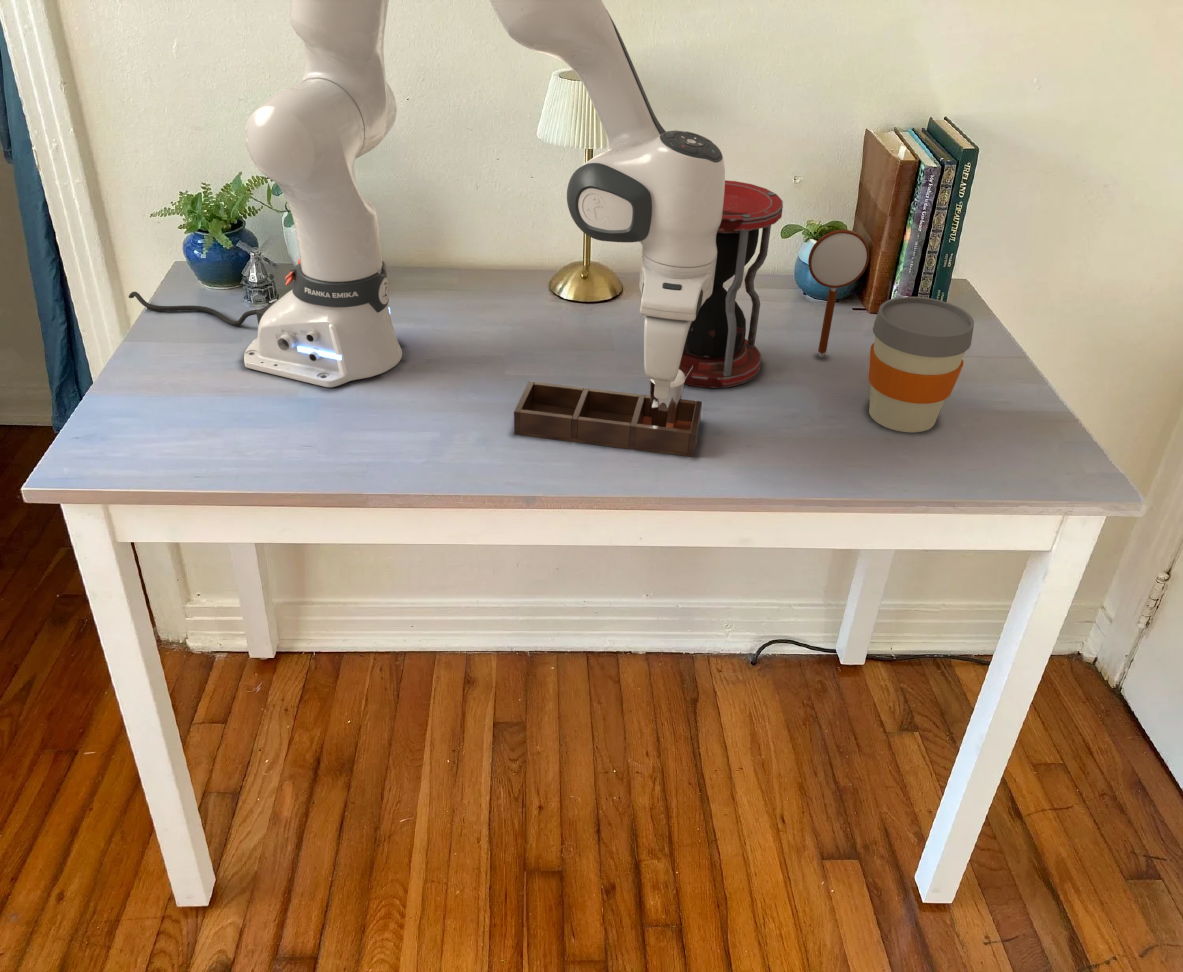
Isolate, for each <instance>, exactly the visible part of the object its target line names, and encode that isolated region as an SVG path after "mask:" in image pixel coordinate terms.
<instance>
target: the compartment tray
mask: <svg viewBox="0 0 1183 972" xmlns="http://www.w3.org/2000/svg"><path fill="white" fill-rule="evenodd" d="M702 407H703V401H700V400H692V399H683V398H681V402H680V408H679V414H678V419H677V425H676V428H668V427H660V426H652V425H650V394H641V393H635V392H634V393H633V392H624V391H616V390H608V389H600V388H591V387H582V386H573V385H567V384H558V383H549V382H541V381H532V380H529V381H528V383H527V384H526V386H525V389H524V391H523V393H522V395H521V397H520V398H519V401H518V402H517V405H516V407H515V408H514V410H513V434H514V435H515V436H523V437H533V438H541V439H547V440H554V441H555V440H557V441H563V442H570V443H579V444H587V445H593V446H604V447H610V448H618V449H627V450H635V451H641V452H650V453H658V454H666V455H674V456H683V457H688V458H689V457H691V458H694V456H695V452H696V448H697V447H696V446H697V440H698V435H699V431H700V425H701V417H702V409H703V408H702Z"/></svg>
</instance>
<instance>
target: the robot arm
mask: <svg viewBox="0 0 1183 972" xmlns="http://www.w3.org/2000/svg"><path fill="white" fill-rule="evenodd" d="M389 1H390V0H290V5H289V6H290V7H289V20H290V25H291V27H292V29H293V31H294V33H296V35H297V36H298V37H299V38H300V39H301V41H302V45H303V51H304V59H305V69H304V70H305V71H304V74H303V77H302V78H301V81H300V82H298V83H295V84H293V85H292V86H289V87H286V88H284V89H281V90H278V91H277V92H275V93H272V95H270V96H269V97H268V98H266V100H264V102H262V103H261V104H260V105H259V106H258V107H257V108H256V109H255V110H254V111H253V112H252V113H251V115H250V116H249V118H248V120H247V122H246V125H245V129H244V130H245V131H244V135H245V137H244V138H245V139H244V140H245V145H246V149H247V151H248V155H249V157H250V159H251V160H252V163H253V164H254V165H255V166H256V168H257V169H258V170H259V172H261V173H262V174H263V175H264V176H265V177H266V178H268V179H269V180H271V181H273V182H274V183H276V185H277V186H278V188H279V189H280V191H281V193H282V194H283V197H284V199H285V200H286V203H287V206H288V208H289V210H290V213H291V216H292V217H291V218H292V220H293V225H294V231H295V236H296V243H297V249H298V254H299V256H298V257H299V258H298V260H297V264H296V265H294V266H293V267H292V268H291V269H290V272H289V273H288V274H287V275H286V276H285V278H284V280H285V281H286V282H285V286H289V285H290V284H292V289H291V290H289V291H288V292H287V293H285V294H284V295H283V296H281V297H280V298H279V299H277V300H275V301H273V302H271V303H269V304H267V305H265V306H264V307H262V308H260V309H252V310H251V309H250V310H248V311H245V312H244V313H242V314H241V316H240V317H239V319H238V320H232V319H229V318H228V317H226V316H225V315H223V314H222V313H221V312H219V311H218V310H216V309H213V308H211V307H208V306H203V305H202V306H201V305H157V304H151V303H149V302H147V301H146V300H145V299H144V298H143V297H142V295H141V294H140V293H139V292H138V291H131V292H130V293H129V295H128V298H129V299H134V298H136V300H137V301H138V302H139V304H141V305H142V306H144V307H145V308H147V309H150V310H154V311H160V312H161V311H163V312H177V311H179V312H180V311H197V312H198V311H199V312H205V313H209V314H211V315H214V316H215V317H217V318H218V319H220V320H221V321H222V322H224V323H226V324H228V325H230V326H235V327H236V326H237V327H238V326H240V325H242V324H243V323H244V322H245V321H246V319H247V318H248V317H250V316H254V315H255V316H256V318H257V319H256V320H257V324H258V325H257V337H255V338H254V339H253V340H252V341H251V342H250V344H249V345H248V346H247V348H246V349H245V351H244V354H243V361H244V362H243V363H244V367H245V368H247V369H251V370H254V371H258V372H263V373H266V374H270V375H275V376H278V377H282V378H287V379H291V380H295V381H299V382H304V383H308V384H312V385H315V386H320V387H324V388H335V387H338V386H341V385H344V384H346V383H348V382H352V381H357V380H362V379H363V380H364V379H369V378H372V377H375V376H378V375H381V374H383V373H385V372H388V371H389V370H391V369H393V368H394V367H396V366H397V365H398V364H399V363H400V361H401V360H402V357H403V350H402V348H401V346H400V344H399V340H398V338H397V334H396V332H395V328H394V325H393V321H392V317H391V308H390V307H389V301H390V286H389V285H390V284H389V279H388V273H387V266H386V265H387V264H386V263H385V261H384V260H383V255H382V244H381V233H380V232H381V231H380V222H379V214H378V210H377V208H376V206H375V205H374V204H373V203H372V202H371V201H370V200H369V199H367V198H366V197H364V196H363V193H362V192H361V190H360V187H359V185H358V181H357V178H356V175H355V162H356V160H357V159H358V158H360V157H362V156H364V155H366V154H367V153H369V152H371V151H372V150H374V149H375V148H376V147H378V146H379V145H380V143H381V142H382V141H383V140H384V139H385V138H386V136H387V135H388V134H389V132H390V131H391V130H392V128H393V126H394V124H395V122H396V119H397V112H398V111H397V101H396V97H395V95H394V92H393V90H392V88H391V86H390V85H389V83H388V82H387V78H386V77H387V76H386V67H385V52H384V51H385V50H384V47H385V46H384V43H385V42H384V41H385V30H386V23H387V15H388V9H389V3H390V2H389ZM489 1H490V4H491V6H492V9H493V11H494V13H495V14H496V16H497V18H498V20H499V22H500V23H501V25H502V26H503V28H504V30H505V32H506V33H507V34H508V36H509V37H510V38H511V39H512V40H513V41H515V42H516V43H518V44H519V45H521V46H522V47H524V48H526V49H528V50H530V51H534V52H537V53H540V54H545V55H547V56H550V57H552V58H554V59H556V60H559V61H560V62H562V63H564V64H565V65H566V66H568V67H569V68H570V69H571V70H572V71H573V72H574V73H575V74H576V75H577V76H578V78H579V79H580V81H581V83H582V84H583V87H584V88H585V91H586V93H587V95H588V98H589V100H590V101H591V104H592V107H593V108H594V110H595V113H596V115H597V117H598V120H599V122H600V124H601V126H602V128H603V130H604V133H605V135H606V138H607V150H606V151H604V152H601V153H599V154H598V155H596V156H594V157H592V158H591V159H589V160H587V161H586V162H584V163H583V164H582V165H581V166H580V167H578V168H577V169H576V170H575V171H574V172H573V173H572V175H571V176H570V179H569V181H568V183H567V188H566V203H567V209H568V211H569V212H568V213H569V214H570V217H571V219H572V220H573V222H574V224H575V225H576V226H577V228H579V230H581V232H582V233H584V234H585V235H587V236H588V237H590V238H591V239H593V240H597V241H601V242H609V243H638V242H639V243H640V244H641V258H640V259H641V260H640V270H639V283H638V287H639V290H640V295H641V297H640V304H639V313H640V315H642V316H644V321H643V322H644V323H643V324H644V325H643V368H644V374H645V377H646V378H647V379H648V380H650V379H653V380H654V384H655V388H654V397H656V398H659V399H667V398H668V396H669V392H670V383H671V382H673V381H674V380H675V379H676V377H677V374H678V370H679V366H680V362H681V358H682V354H683V350H684V346H685V342H686V338H687V334H688V331H689V328H690V325H691V323H692V321H694V320H695V319H696V315H697V314H698V312H699V309H700V307H701V306H702V305H703V303H704V302H705V301H706V299H708V298H709V297H710V296H711V294H712V291H713V284H714V276H715V268H716V260H717V246H716V234H717V231H718V228H719V226H720V224H721V220H722V213H723V203H724V190H725V180H726V166H725V160H724V156H723V153H722V151H721V149H720V148H719V147H718V146H717V145H716V144H715V143H714V142H713V141H712V140H710V139H709V138H707V137H705V136H703V135H700V134H699V133H695V132H692V131H688V130H687V131H686V130H685V131H683V130H667V131H666V130H665V129H664V127H663V125H662V124H661V123H660V121H659V120H658V118H657V116H656V115H655V113H654V111H653V107H652V106H651V104H650V101H649V99H648V96H647V94H646V92H645V90H644V86H643V85H642V82H641V80H640V77H639V75H638V73H637V71H636V68H635V66H634V64H633V61H632V59H631V57H630V54H629V52H628V50H627V47H626V45H625V43H624V40H623V38H622V36H621V34H620V32H619V30H618V28H617V26H616V24H615V22H614V19H613V18H612V17H611V15H610V13H609V11H608V9H607V8H606V6H605V4H604V2H603V0H489Z"/></svg>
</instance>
